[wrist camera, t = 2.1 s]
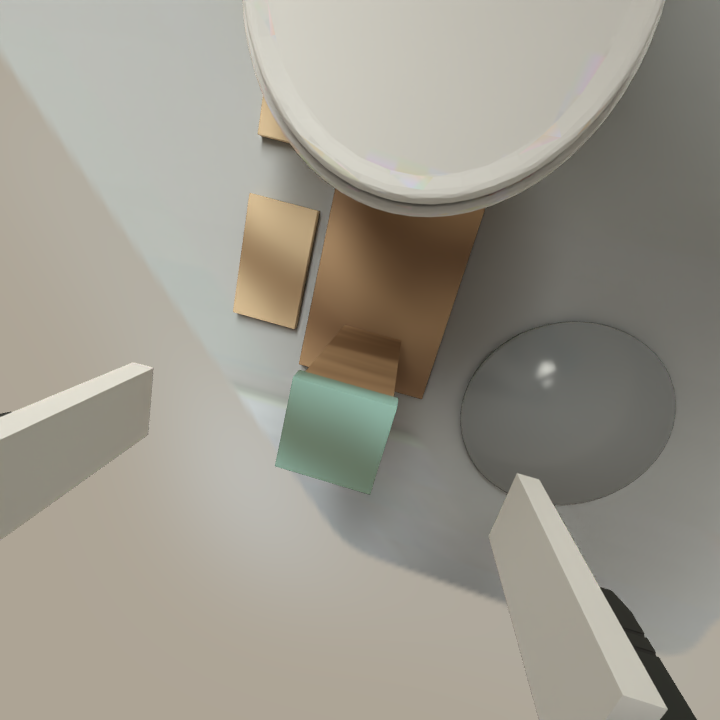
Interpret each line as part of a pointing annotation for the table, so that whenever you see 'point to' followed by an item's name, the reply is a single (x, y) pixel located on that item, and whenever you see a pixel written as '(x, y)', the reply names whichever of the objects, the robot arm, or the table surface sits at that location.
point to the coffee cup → (443, 90)
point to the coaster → (568, 411)
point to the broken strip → (274, 251)
